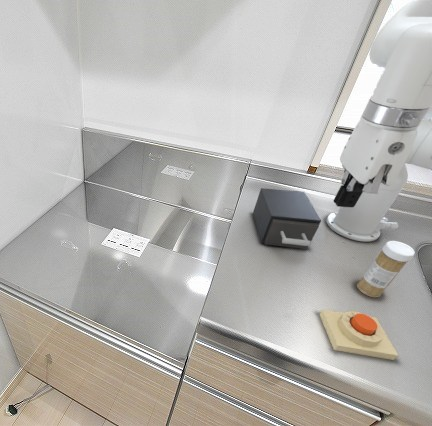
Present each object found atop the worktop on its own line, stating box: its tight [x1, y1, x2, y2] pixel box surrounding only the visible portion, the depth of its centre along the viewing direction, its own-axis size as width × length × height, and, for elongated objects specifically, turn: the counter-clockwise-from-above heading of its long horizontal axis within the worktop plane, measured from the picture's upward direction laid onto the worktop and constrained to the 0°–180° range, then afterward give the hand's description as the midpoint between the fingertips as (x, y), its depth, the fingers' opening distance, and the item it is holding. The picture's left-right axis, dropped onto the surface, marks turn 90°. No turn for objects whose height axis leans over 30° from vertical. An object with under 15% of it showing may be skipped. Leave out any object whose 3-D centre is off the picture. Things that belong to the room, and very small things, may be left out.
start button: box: [350, 313, 378, 335], centre depth 56 cm, size 4×4×2 cm
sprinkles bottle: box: [356, 240, 416, 298], centre depth 63 cm, size 5×5×13 cm
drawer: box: [264, 219, 320, 250], centre depth 79 cm, size 17×10×8 cm, turn 168°
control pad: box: [318, 309, 399, 361], centre depth 57 cm, size 10×8×4 cm
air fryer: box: [252, 187, 322, 245], centre depth 82 cm, size 14×12×10 cm
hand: (343, 204), depth 59 cm, fingers closed
